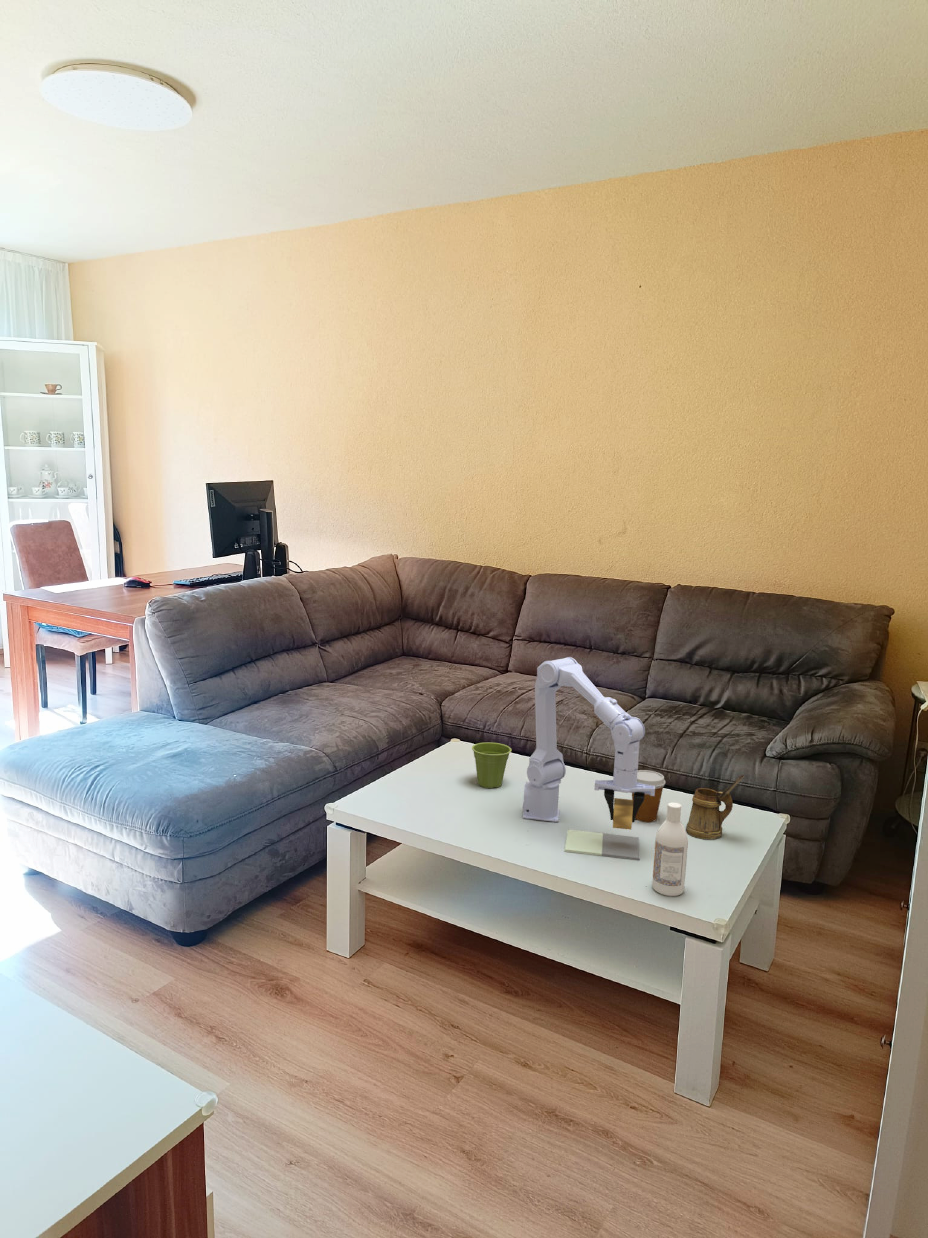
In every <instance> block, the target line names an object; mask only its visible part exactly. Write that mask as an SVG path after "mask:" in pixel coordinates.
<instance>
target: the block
mask: <svg viewBox="0 0 928 1238" xmlns="http://www.w3.org/2000/svg"><path fill="white" fill-rule="evenodd" d="M613 806H614V816H613V820H612V828H613V829H621V830H629V831H630V830H632V826H633V824H632V823H633V822H632V814H633V800H632V799H631V798H630V799H629V798H619V797H614V805H613Z"/></svg>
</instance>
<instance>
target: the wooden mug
mask: <svg viewBox="0 0 928 1238" xmlns="http://www.w3.org/2000/svg"><path fill="white" fill-rule="evenodd" d="M744 778H745V776H744V774H742V775H740V776H739V777H738V778H736V780H735V781H734V782H733V783H732V784H731V785H730V786H729V787H727V788H725V790H723V791H717V790H714V789H711V788H706V787H700V788H696V789H695V791H694V794H693V796H692V797H691V798H692V799H691V800H692V804H691V808H690V809H691V810H690V814H689V818H688V822H686V823H687V824H686V826H685V831H686V833H687V835H689V836H691V837H694V838H696V839H697V838H698V839H702V840H710V841H711V840H716V839H719V838H720V837H722V835H723V827H722V825H723V822H724V820H726V818H728V816H729V815H730V814H731V812H732V810H733V807H734V804H733V798H732V796H731V794H730V793H731V791H732V790H733V789H734V788H736V786H737V785H738V784H739V783H740V782H741V781H742V780H743V779H744ZM722 803H723V804H724V805H725V807H724V810H720V806H722Z"/></svg>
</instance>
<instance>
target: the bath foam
mask: <svg viewBox="0 0 928 1238" xmlns="http://www.w3.org/2000/svg"><path fill="white" fill-rule="evenodd" d="M666 808H667V809H666V819H665V820H664V821H663V822H662V824H661V825H660V826H659V828H658V829H657V832H656V836H655V841H654V842H655V843H654V854H653V855H654V856H653V870H652V881H651V882H652V883H651V885H652V886H651V887H652V888H653V890H654V891H655V892H657V893H658V894H661V895H663V896H667V897H676V896H679V895H682V894H683V893H684V890H685V882H686V872H687V871H686V869H687V859H688V844H689V840H688V833H687V832H686V828H685V827H684V826H683V824H682V821H681V815H682V804H680V803H679V802H668V803H667V807H666Z"/></svg>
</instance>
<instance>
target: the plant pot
mask: <svg viewBox="0 0 928 1238" xmlns="http://www.w3.org/2000/svg"><path fill="white" fill-rule="evenodd" d="M471 750H472V752H473V757H474V759H475V760H474V761H475V768H476V778H477V785H479V786H480V787H481V788H488V789H492V788H500V787H501V786H502V784H503V782H504V781H503V780H504V776H505V772H506V767H507V762H508V760H509V756H510V753H511V752H512V748H511V747H510V746H509V745H507V744H503V743H498V742H492V741H491V742H490V741H489V742H479V743H475V744H473V745H472V746H471Z"/></svg>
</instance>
